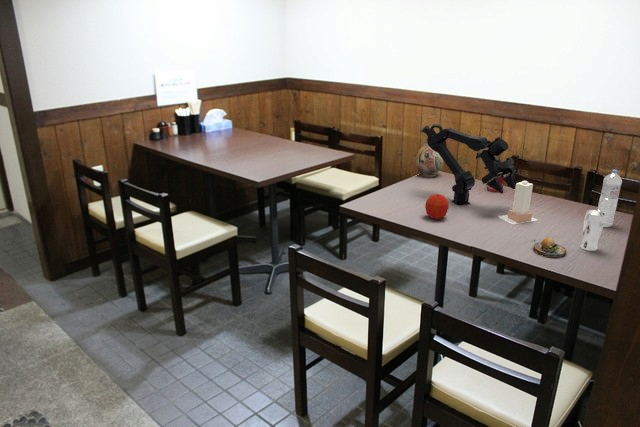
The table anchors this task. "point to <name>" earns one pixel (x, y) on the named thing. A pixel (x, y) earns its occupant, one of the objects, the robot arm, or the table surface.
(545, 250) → the burger
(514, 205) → the tall block
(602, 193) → the water bottle
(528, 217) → the base block
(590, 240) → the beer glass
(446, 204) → the apple
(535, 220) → the baseplate
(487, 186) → the canned food
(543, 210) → the table surface
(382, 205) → the table surface
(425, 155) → the ceramic jug
